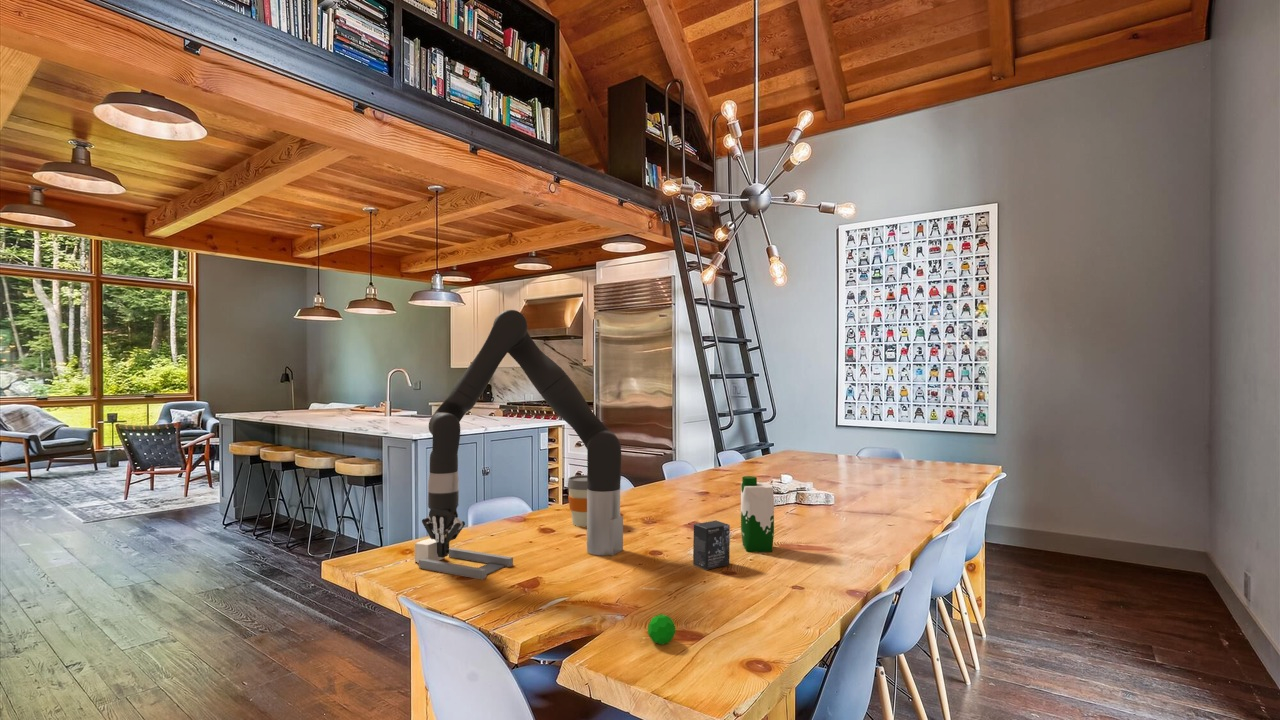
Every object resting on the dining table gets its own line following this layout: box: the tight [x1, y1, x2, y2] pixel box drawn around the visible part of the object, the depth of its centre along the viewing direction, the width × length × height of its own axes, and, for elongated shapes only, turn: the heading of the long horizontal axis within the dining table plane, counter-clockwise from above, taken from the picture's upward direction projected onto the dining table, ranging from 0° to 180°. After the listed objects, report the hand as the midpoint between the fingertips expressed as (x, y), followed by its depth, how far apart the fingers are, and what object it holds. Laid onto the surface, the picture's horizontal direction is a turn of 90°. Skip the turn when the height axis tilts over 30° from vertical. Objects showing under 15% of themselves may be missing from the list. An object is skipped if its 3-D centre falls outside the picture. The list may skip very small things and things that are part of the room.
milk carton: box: [740, 475, 775, 553], centre depth 169 cm, size 9×9×20 cm
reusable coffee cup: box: [567, 474, 587, 528], centre depth 197 cm, size 13×13×15 cm
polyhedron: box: [647, 614, 676, 646], centre depth 109 cm, size 5×5×5 cm
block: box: [414, 537, 446, 564], centre depth 158 cm, size 4×6×5 cm
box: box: [692, 520, 731, 571], centre depth 154 cm, size 8×6×11 cm
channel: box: [418, 547, 514, 580], centre depth 152 cm, size 20×12×2 cm, turn 65°
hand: (442, 556), depth 155 cm, fingers closed
